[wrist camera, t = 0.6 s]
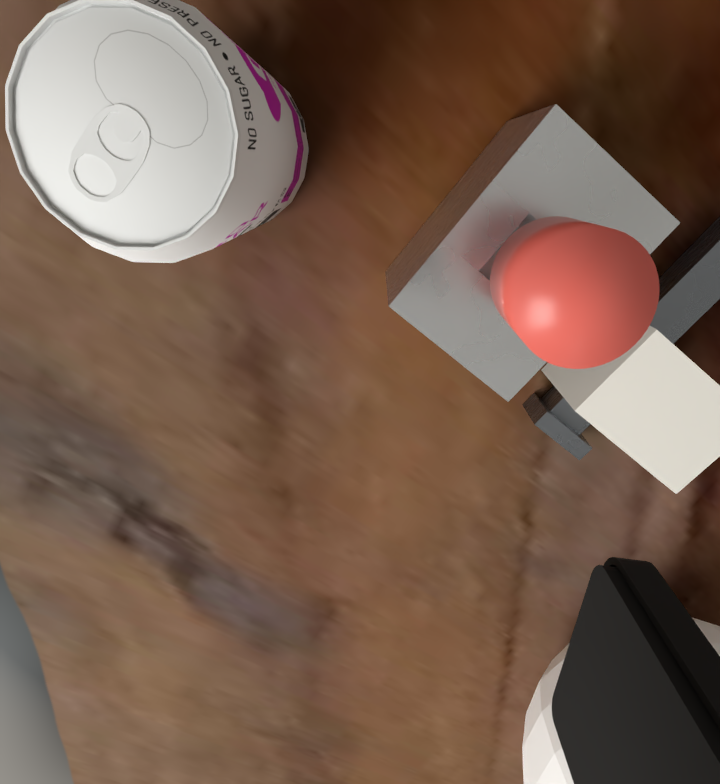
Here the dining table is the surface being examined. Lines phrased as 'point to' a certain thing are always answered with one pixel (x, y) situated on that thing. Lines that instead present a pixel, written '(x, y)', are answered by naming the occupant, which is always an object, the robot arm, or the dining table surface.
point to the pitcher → (541, 742)
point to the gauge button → (575, 290)
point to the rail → (672, 319)
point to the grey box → (497, 223)
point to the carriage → (650, 407)
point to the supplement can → (150, 129)
